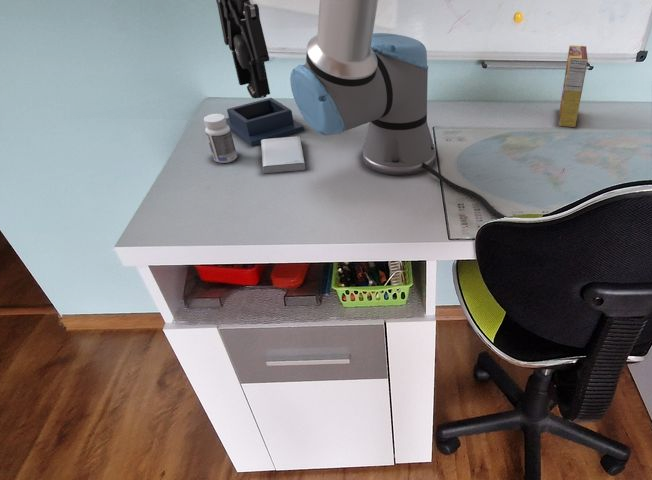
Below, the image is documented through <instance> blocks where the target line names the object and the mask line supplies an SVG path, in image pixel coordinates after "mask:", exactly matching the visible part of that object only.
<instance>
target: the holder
mask: <svg viewBox="0 0 652 480" xmlns="http://www.w3.org/2000/svg"><path fill="white" fill-rule="evenodd" d="M226 111H227V116H228V117H227V118H226V117H225V119H226V123H227V125H228V126H229V127H230V130H231V133H233V134H235V135H236V136H237V137H238V138H240V139H241V140H242V141H244V142H246V143H247V144H248V145H250V147H254V146H256V145H260V144H261V140H263V139H272V138H284V137H288V136H290V135H293V134H297V133H300V132H303V131H305V126H304V125H302V124H301V123H300V122H298V121H296V120H295V119H294V116H293V111H292V109H291V108H289V107H287V106H285V104H283V103H281V102H280V101H278V100H276V99H275V98H273V97H267V98H263V99H259V100H256V101H253V102H249V103H245V104H240V105H237V106H233V107H229V108H227V109H226Z"/></svg>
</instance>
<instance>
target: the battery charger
mask: <svg viewBox="0 0 652 480" xmlns="http://www.w3.org/2000/svg"><path fill="white" fill-rule="evenodd" d="M234 46H235V51H236V56H237V60H238V61H239V63H240V65H241V67H242V68H243V69H249V72H250V81H249V84H247V86H246V90H247V92H248V93H249V95H250V97H251V98H252V99H265V98H267V95H265V96H261V97H258V96H257V93H256V88H255V84H254V79H253V74H252V70H251V65H250V64H249V62H250V61H252V60H251V57H250V54H249V51H248V48H247V45H246V43H245V40H244V37H243V34H236V35H235V36H234Z"/></svg>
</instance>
